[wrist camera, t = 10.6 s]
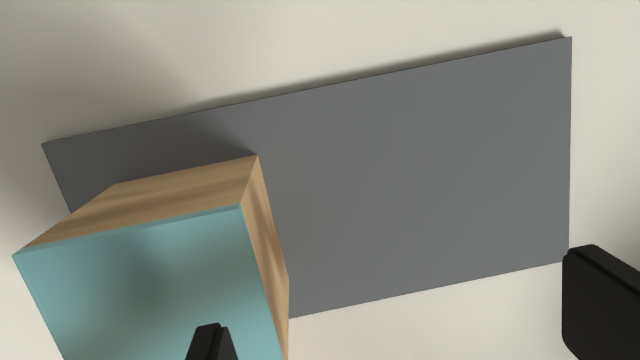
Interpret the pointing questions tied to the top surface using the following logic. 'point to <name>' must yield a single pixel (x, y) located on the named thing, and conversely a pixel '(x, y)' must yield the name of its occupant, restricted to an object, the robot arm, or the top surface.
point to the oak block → (164, 267)
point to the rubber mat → (379, 171)
